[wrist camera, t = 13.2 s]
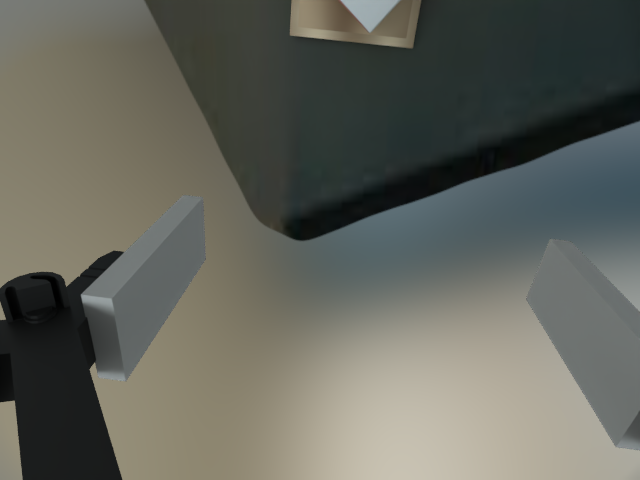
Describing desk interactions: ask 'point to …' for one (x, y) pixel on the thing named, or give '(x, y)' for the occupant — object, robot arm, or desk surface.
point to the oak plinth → (354, 23)
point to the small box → (369, 11)
